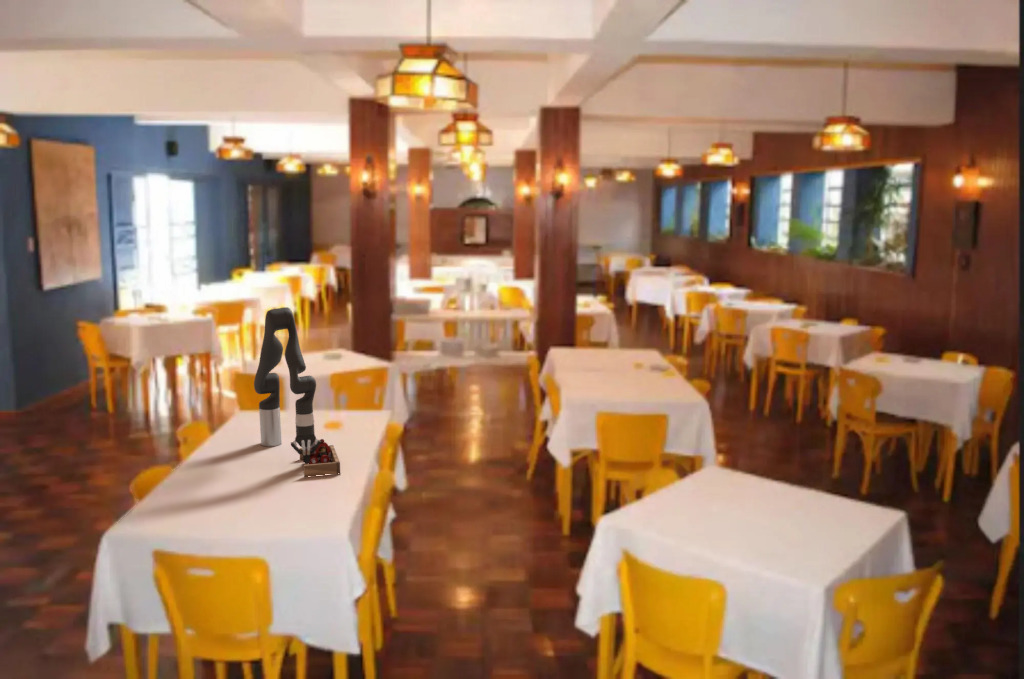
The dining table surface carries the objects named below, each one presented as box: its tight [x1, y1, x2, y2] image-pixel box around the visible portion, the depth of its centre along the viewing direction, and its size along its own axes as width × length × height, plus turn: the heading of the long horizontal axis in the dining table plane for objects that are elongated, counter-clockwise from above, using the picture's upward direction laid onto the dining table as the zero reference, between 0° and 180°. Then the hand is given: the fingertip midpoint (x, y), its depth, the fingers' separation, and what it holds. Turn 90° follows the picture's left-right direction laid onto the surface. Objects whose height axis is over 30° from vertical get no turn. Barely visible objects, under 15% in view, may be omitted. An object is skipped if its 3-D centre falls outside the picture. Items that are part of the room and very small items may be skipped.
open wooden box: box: [298, 444, 341, 478], centre depth 385 cm, size 27×14×5 cm, turn 17°
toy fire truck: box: [305, 438, 331, 464], centre depth 389 cm, size 7×12×10 cm, turn 120°
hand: (306, 463), depth 383 cm, fingers closed
